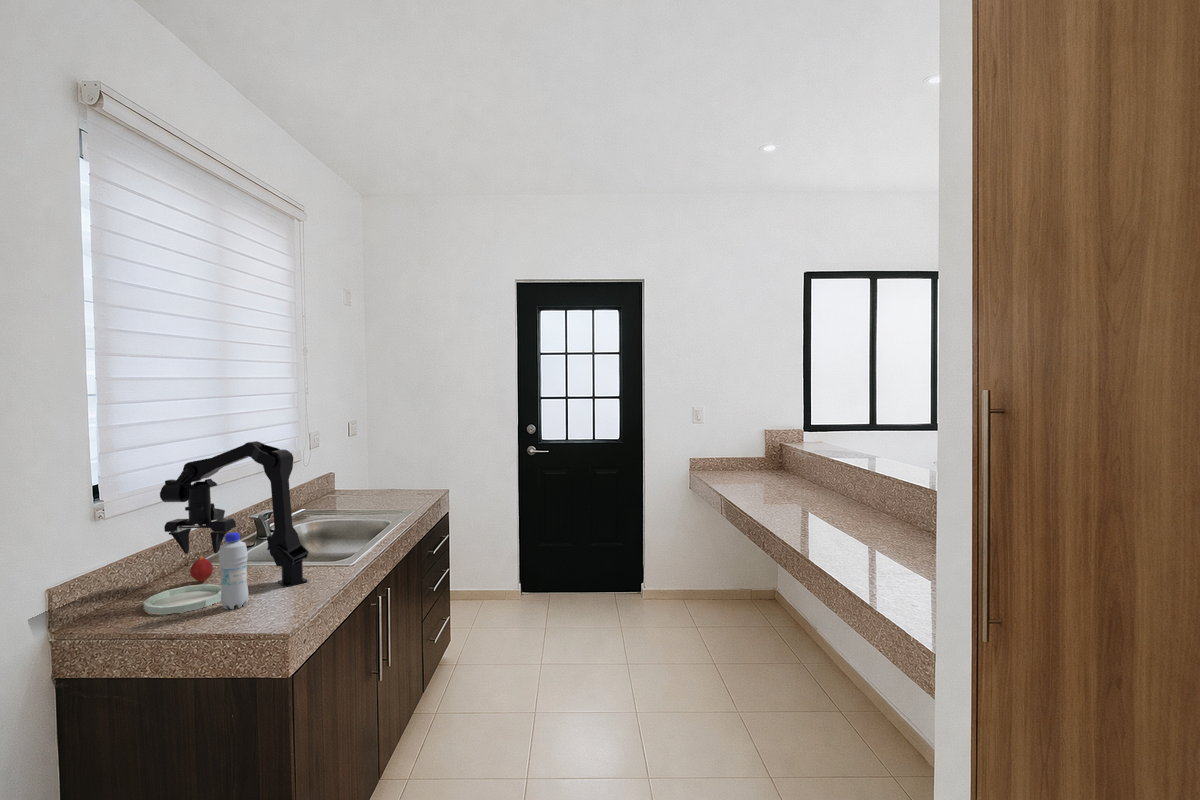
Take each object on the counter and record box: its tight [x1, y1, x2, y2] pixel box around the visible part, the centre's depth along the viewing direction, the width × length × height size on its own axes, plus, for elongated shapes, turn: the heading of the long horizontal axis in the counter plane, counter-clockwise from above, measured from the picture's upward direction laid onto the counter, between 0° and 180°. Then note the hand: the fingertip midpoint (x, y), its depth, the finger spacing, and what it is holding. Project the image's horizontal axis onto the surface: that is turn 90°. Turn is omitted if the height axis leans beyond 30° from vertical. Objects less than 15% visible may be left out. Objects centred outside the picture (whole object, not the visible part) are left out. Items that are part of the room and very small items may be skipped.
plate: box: [143, 583, 222, 614], centre depth 167 cm, size 18×18×2 cm
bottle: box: [218, 531, 249, 610], centre depth 163 cm, size 7×7×20 cm
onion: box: [189, 555, 214, 583], centre depth 185 cm, size 6×6×8 cm
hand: (201, 553), depth 185 cm, fingers open, 9 cm apart
